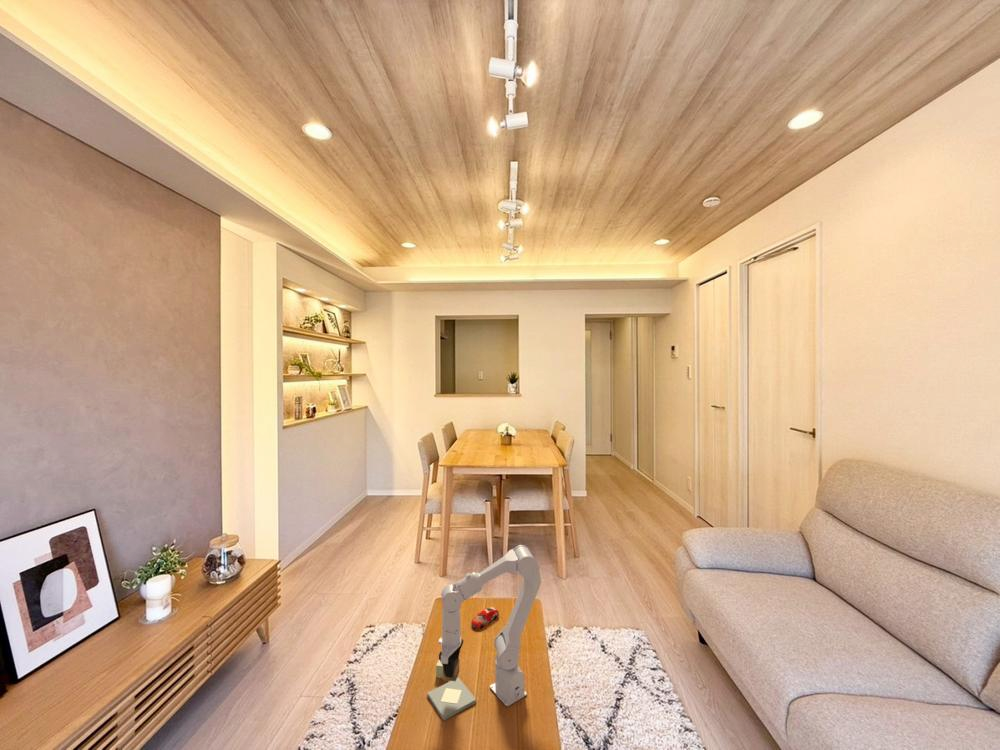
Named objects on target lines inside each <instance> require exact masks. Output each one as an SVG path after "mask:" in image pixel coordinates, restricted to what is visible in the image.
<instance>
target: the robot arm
mask: <svg viewBox="0 0 1000 750" xmlns="http://www.w3.org/2000/svg"><path fill="white" fill-rule="evenodd" d="M506 573H509V574H512V575H516V576H518V573H519V575H521V577H523V582H522V584H521V586H520V589H519V592H518V594H517V597H516V600H515V602H514V604H513V608H512V609H511V613H510V615H509V618H508V620H507V623H506V625H505V626H503V627H501V630H500V632H499V633H498V634H497V635H496V636H495V638H494V641H493V642H494V647H495V650H496V656H495V658H494V659H495V660H494V670H495V671H494V676H495V677H494V680H495V681H494V683H492V684H490V685H489V689H490V690H491V691H492V692H493V693H494V695H496V697H497V698H498V699H499V700H500V701H501V702H502V704H504V705H505V706H506V707H509V706H511V705H512V704H514V703H516V702H518V701H519V700H521V699H522V698H524V697H525V696H527V695H528V694H527V691H525V689H526V688H525V680H526V679H525V674H524V672H523V671H522V670H521V668H520V666H519V662H520V651H521V649H522V648H521V644H522V641H521V639H522V638H521V637H522V634H523V631H524V629H525V626H526V624H527V621H528V619H529V618H528V617H529V615H530V613H531V610H532V607H533V606H534V602H535V600H536V598H537V595H538V593H539V592H538V591H539V589H540V587H541V584H542V577H541V574H540V573H541V572H540V566H539V564H538V562H537V560H536V558H535V557H534V555H533V554H532V552H531V550H530V549H529V547H527V546H526V545H524V544H518V545H517V546H515V547H514V548H511V549H510V550H508V551H507V552H506V553H505V554H504V555H503V556H502V557H500V558H499V559H498V560H496V561H495V562H494V563H492V564H491V565H489V566H488V567H486V568H484V569H483V570H482V571H481V572H475V571H473V572H471V573H470V572H468V573H466V575H465V576H464V577H463V578H461V579H460V580H458V581H454V582H452V584H451V583H450V584H446V585H445V586H444V587H443V589H442V590H441V592H440V596H441V604H442V607H441V608H442V609H441V610H442V611H441V637H440V638H439V640H438V645H441V651H440V652H439V653H438V660H440V661H441V663H442V665H443V668H444V672H445V676H446V677H450V678H452V677H453V673H454V666H455V661H456V659H459V660H460V654H461V653H460V652H461V648H462V646H463V644H464V639H463V638H462V628H461V609H460V608H461V606H462V604H463V603H464V602H465V601H466V600H468V599H470V598H471V597H473V596H475V595H476V594H478V593H480V592H481V591H482V590H483V588H484V585H485V584H487V583H488V582H490V581H492V580H495V579H497V578H498V577H500V576H502V575H504V574H506Z"/></svg>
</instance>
